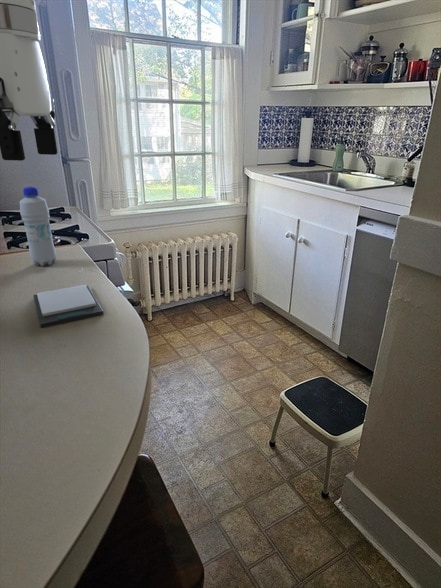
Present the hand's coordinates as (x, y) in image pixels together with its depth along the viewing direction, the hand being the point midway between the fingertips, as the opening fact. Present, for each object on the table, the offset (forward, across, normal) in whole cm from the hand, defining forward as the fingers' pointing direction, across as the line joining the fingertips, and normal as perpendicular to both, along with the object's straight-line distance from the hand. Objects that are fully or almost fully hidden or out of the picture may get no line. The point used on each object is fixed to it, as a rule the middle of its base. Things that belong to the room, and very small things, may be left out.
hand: (32, 157), depth 61 cm
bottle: (+30, -32, -20) cm, 49 cm away
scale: (+30, -5, -1) cm, 30 cm away
